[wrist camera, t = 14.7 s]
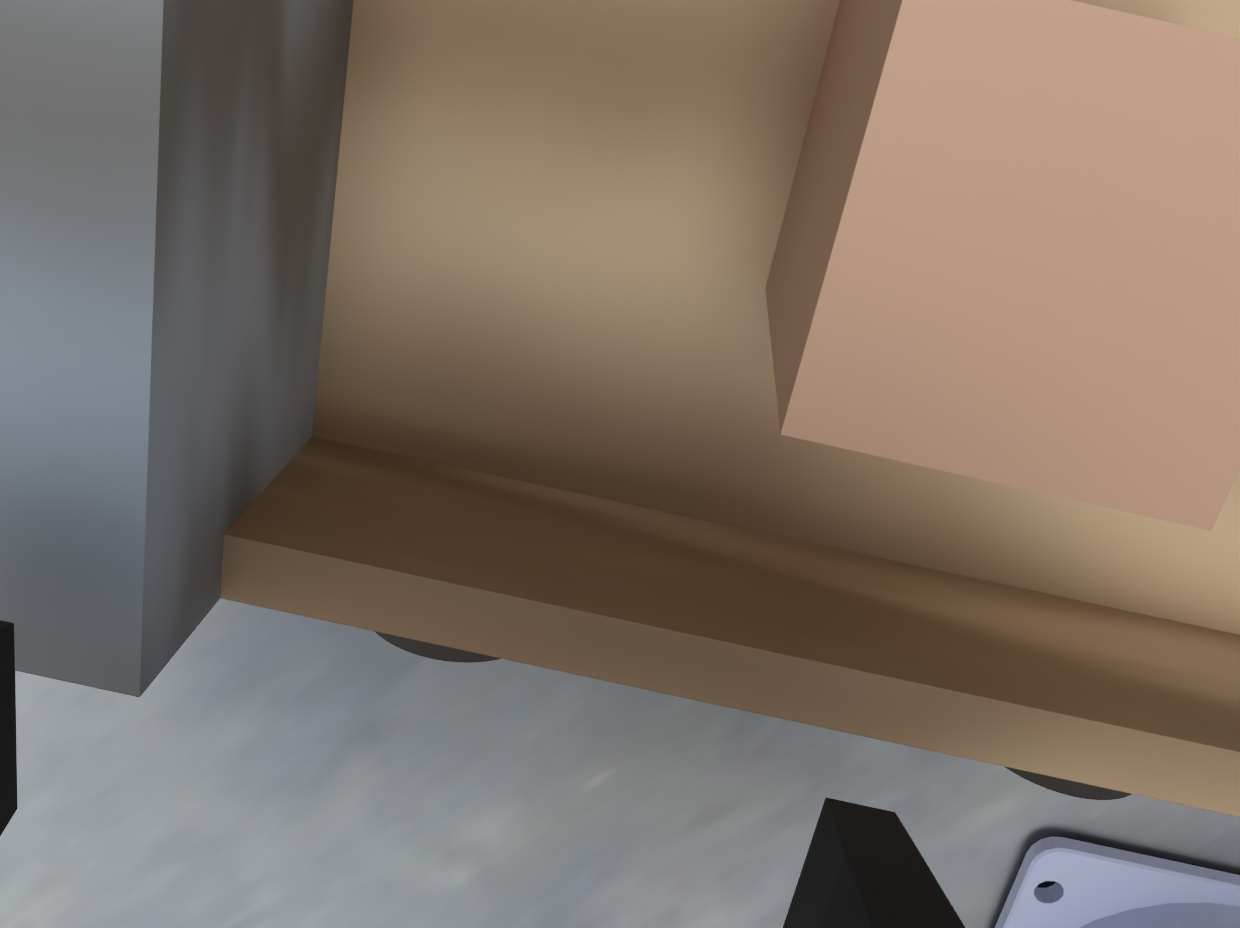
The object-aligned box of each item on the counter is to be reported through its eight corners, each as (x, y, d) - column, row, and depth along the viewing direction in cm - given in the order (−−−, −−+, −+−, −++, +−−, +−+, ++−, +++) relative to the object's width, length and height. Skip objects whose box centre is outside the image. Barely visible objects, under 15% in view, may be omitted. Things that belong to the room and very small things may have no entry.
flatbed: (1207, 724, 21) (1414, 1052, 14) (94, 485, 21) (-180, 709, 14) (1737, -383, 14) (2531, -659, 8) (111, -724, 14) (-374, -1266, 8)
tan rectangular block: (1060, 353, 18) (1210, 531, 12) (765, 287, 18) (780, 434, 12) (1178, 39, 16) (1419, 77, 10) (849, -35, 16) (912, -36, 10)
